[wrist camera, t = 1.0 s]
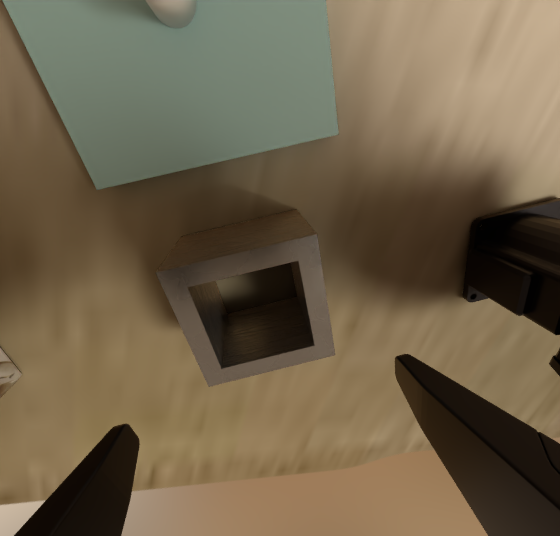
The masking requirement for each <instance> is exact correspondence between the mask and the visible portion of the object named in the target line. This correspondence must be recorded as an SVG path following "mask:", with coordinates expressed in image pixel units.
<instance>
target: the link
mask: <svg viewBox="0 0 560 536" xmlns="http://www.w3.org/2000/svg"><path fill="white" fill-rule="evenodd" d="M286 263H290V264H291V268H292V273H293V278H294V283H295V288H296V292H297V297H294V298H290V299H286V300H282V301H278V302H274V303H269V304H265V305H261V306H257V307H253V308H249V309H245V310H241V311H237V312H233V313H228V314H227V312H226V309H225V306H224V303H223V301H222V298H221V295H220V292H219V289H218V287H217V284H216V280H220V279H224V278H228V277H232V276H236V275H241V274H245V273H249V272H253V271H257V270H261V269H266V268H270V267H274V266H278V265H282V264H286ZM156 275H157V277H158V279H159V281H160V283H161V285H162V288H163V290H164V292H165V294H166V296H167V298H168V300H169V303H170V305H171V307H172V309H173V311H174V313H175V315H176V318H177V320H178V322H179V324H180V326H181V328H182V330H183V333H184V335H185V337H186V339H187V341H188V343H189V345H190V348H191V350H192V352H193V354H194V356H195V358H196V360H197V363H198V365H199V367H200V369H201V371H202V373H203V375H204V378H205V380H206V382H207V384H208V386H209V387H210V386H214V385H218V384H222V383H226V382H230V381H234V380H238V379H242V378H246V377H250V376H254V375H258V374H262V373H266V372H270V371H274V370H278V369H282V368H286V367H290V366H294V365H298V364H302V363H306V362H310V361H314V360H318V359H322V358H326V357H330V356H334V355H335V350H334V343H333V337H332V330H331V323H330V317H329V310H328V303H327V297H326V290H325V283H324V277H323V270H322V263H321V257H320V250H319V243H318V237H317V233H316V232H315V231H314V230H313V229H312V227H311V226H310V225H309V224H308V223H307V221H306V220H305V219H304V218H303V217H302V216H301V214H300V213H299V212H298V211H297V210H296V209H295V210H291V211H287V212H283V213H278V214H274V215H270V216H266V217H261V218H257V219H253V220H249V221H244V222H240V223H236V224H232V225H227V226H223V227H219V228H215V229H210V230H206V231H202V232H198V233H194V234H189V235H185V236H181V238H180V239H179V241H178V242H177V243H176V245H175V246H174V248H173V249H172V250H171V252H170V253H169V255H168V256H167V257H166V259H165V260H164V262H163V263H162V264H161V266H160V267H159V269H158V270H157V271H156Z"/></svg>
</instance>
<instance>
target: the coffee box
mask: <svg viewBox="0 0 560 536" xmlns="http://www.w3.org/2000/svg"><path fill="white" fill-rule="evenodd" d="M21 376H22V373H21V372H20V371H19V370H18V368H17V367H16V366H15V365H14V364H13V362H12V361H11V360H10V359H9V357H8V356H7V355H6V354H5V353H4V351H3V350H2V349H1V348H0V398H1V397H2V396H3V395H4V394H5V393H6V392H7V391H8V390H9V389H10V388H11V387H12V386H13V385H14V384H15V383H16V382H17V380H18V379H19V378H20V377H21Z"/></svg>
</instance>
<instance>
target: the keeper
mask: <svg viewBox="0 0 560 536" xmlns="http://www.w3.org/2000/svg"><path fill="white" fill-rule="evenodd" d="M2 1H3V3H4V5H5V7H6V9H7V11H8V13H9V15H10V17H11V19H12V21H13V23H14V25H15V27H16V29H17V31H18V33H19V35H20V37H21V39H22V41H23V43H24V45H25V47H26V49H27V51H28V53H29V55H30V57H31V59H32V61H33V63H34V65H35V67H36V69H37V71H38V73H39V75H40V77H41V79H42V81H43V83H44V85H45V87H46V89H47V91H48V93H49V95H50V97H51V99H52V101H53V103H54V105H55V107H56V109H57V111H58V113H59V115H60V117H61V119H62V121H63V123H64V125H65V127H66V129H67V131H68V133H69V135H70V137H71V139H72V141H73V143H74V145H75V147H76V149H77V151H78V153H79V155H80V157H81V159H82V161H83V163H84V165H85V167H86V169H87V171H88V173H89V175H90V177H91V179H92V181H93V183H94V185H95V187H96V189H97V190H99V189H104V188H108V187H113V186H117V185H121V184H126V183H130V182H134V181H139V180H143V179H147V178H152V177H156V176H160V175H165V174H169V173H173V172H178V171H182V170H186V169H191V168H195V167H200V166H204V165H208V164H213V163H217V162H221V161H226V160H230V159H234V158H239V157H243V156H247V155H252V154H256V153H260V152H265V151H269V150H273V149H278V148H282V147H287V146H291V145H295V144H300V143H304V142H308V141H313V140H317V139H321V138H326V137H330V136H334V135H339V133H338V122H337V112H336V101H335V91H334V80H333V70H332V59H331V49H330V38H329V28H328V17H327V7H326V0H2Z"/></svg>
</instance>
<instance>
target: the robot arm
mask: <svg viewBox="0 0 560 536" xmlns="http://www.w3.org/2000/svg"><path fill="white" fill-rule="evenodd" d="M481 224H482V226H481V227H480V225H481ZM463 298H464V299H465V300H467V301H468V302H475V301H479V300H484V299H488V298H490V299H491V300H493V301H495V302H496V303H498V304H500V305H501V306H503V307H504V308H506V309H508V310H509V311H511V312H513V313H514V314H516V315H518V316H521V315H523V316H525V317H527V318H528V319H530V320H532V321H533V322H535V323H537V324H538V325H540V326H542V327H543V328H545V329H547V330H548V331H550V332H552V333H553V334H555V335H560V198H558V199H553V200H549V201H545V202H541V203H537V204H533V205H528V206H524V207H520V208H516V209H512V210H508V211H504V212H499V213H495V214H491V215H487V216H483V217H479V218H477V219H475V220H474V222H473V223H472V226H471V233H470V242H469V250H468V258H467V266H466V275H465V283H464V291H463ZM549 365H550V366H551V367H552V368H553V369H554V370H555V371H556V373H557V374H558V375H559V376H560V349H559V351H558V352H557V354H556V355H555V356H553V357H552V359H551V361H550V363H549ZM395 375H396V379H397V381H398V383H399V385H400V387H401V389H402V391H403V393H404V395H405V397H406V399H407V401H408V403H409V405H410V407H411V409H412V411H413V413H414V415H415V417H416V419H417V421H418V423H419V425H420V427H421V429H422V430H423V432H424V434H425V435H426V437H427V439H428V440H429V442H430V443H431V445H432V447H433V448H434V450H435V451H436V453H437V455H438V456H439V458H440V459H441V461H442V462H443V464H444V466H445V467H446V469H447V470H448V472H449V474H450V475H451V477H452V478H453V480H454V482H455V483H456V485H457V487H458V488H459V490H460V491H461V492H462V494H463V496H464V498H465V499H466V501H467V503H468V504H469V506H470V507H471V509H472V510H473V512H474V514H475V515H476V517H477V518H478V520H479V522H480V523H481V525H482V526H483V528H484V530H485V531H486V533H487V534H488V536H560V444H559V443H558V442H556V441H554V440H553V439H551V438H549V437H548V436H546V435H544V434H543V433H541V432H537V430H536V429H534V428H532V427H531V426H529V425H527V424H525V423H524V422H522V421H520V420H519V419H517V418H515V417H514V416H512V415H510V414H509V413H507V412H505V411H504V410H502V409H500V408H499V407H497V406H495V405H494V404H492V403H490V402H488V401H487V400H485V399H483V398H482V397H480V396H478V395H477V394H475V393H473V392H472V391H470V390H468V389H467V388H465V387H463V386H462V385H460V384H458V383H457V382H455V381H453V380H451V379H450V378H448V377H446V376H445V375H443V374H441V373H440V372H438V371H436V370H435V369H433V368H431V367H430V366H428V365H426V364H425V363H423V362H421V361H420V360H418V359H416V358H414V357H413V356H411V355H409V354H403V355H399V356H396V357H395ZM138 451H139V438H138V436H137V435H136V434H135V432H134V431H133V429H132V428H131V427H130V425H129V424H122V425H118V426H115V427H113V428H112V429H111V430H110V431H109V432H108V433H107V434H106V435H105V436H104V437H103V439H102V440H101V441H100V442H99V443H98V444H97V445H96V446H95V447H94V448H93V449H92V451H91V452H90V453H89V454H88V455H87V456H86V457H85V458H84V459H83V460H82V462H81V463H80V464H79V465H78V466H77V467H76V468H75V469H74V470H73V471H72V473H71V474H70V475H69V476H68V477H67V478H66V479H65V480H64V481H63V482H62V484H61V485H60V486H59V487H58V488H57V489H56V490H55V491H54V492H53V493H52V495H51V496H50V497H49V498H48V499H47V500H46V501H45V502H44V503H43V504H42V505H41V507H40V508H39V509H38V510H37V511H36V512H35V513H34V514H33V515H32V516H31V518H30V519H29V520H28V521H27V522H26V523H25V524H24V525H23V526H22V527H21V529H20V530H19V531H18V532H17V533H16V534H15V535H14V536H121V534H122V530H123V526H124V522H125V518H126V514H127V510H128V506H129V502H130V498H131V492H132V487H133V481H134V475H135V469H136V463H137V457H138Z"/></svg>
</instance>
